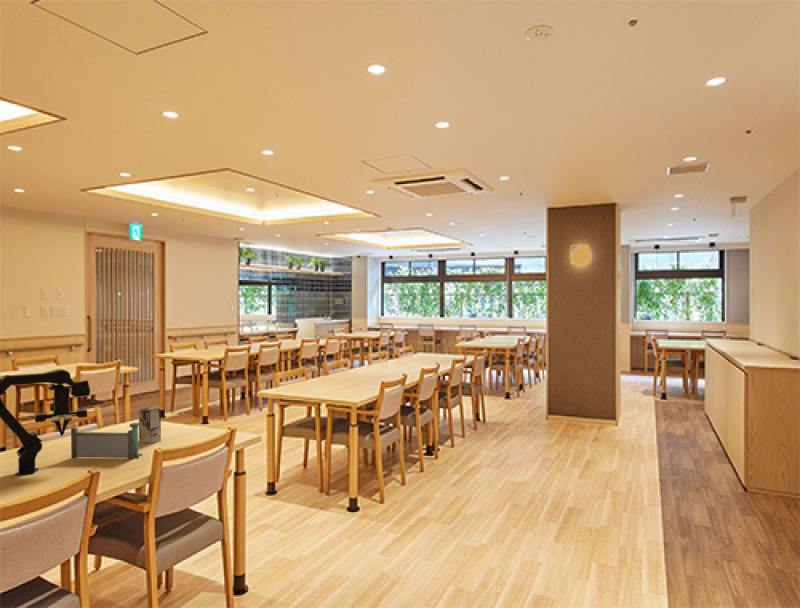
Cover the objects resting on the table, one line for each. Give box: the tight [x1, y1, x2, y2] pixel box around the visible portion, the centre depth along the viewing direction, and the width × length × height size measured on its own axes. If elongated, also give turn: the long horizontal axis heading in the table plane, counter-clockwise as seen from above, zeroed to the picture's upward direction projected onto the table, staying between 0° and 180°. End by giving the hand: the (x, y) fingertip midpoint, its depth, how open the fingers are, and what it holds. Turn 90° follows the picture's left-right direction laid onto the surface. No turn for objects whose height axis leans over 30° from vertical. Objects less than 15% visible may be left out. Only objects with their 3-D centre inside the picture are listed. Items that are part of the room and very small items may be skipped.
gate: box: [70, 426, 135, 459], centre depth 238 cm, size 29×3×13 cm, turn 88°
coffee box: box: [138, 406, 162, 444], centre depth 266 cm, size 9×6×16 cm
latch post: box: [129, 422, 143, 458], centre depth 240 cm, size 5×3×15 cm, turn 87°
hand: (62, 435), depth 228 cm, fingers closed
